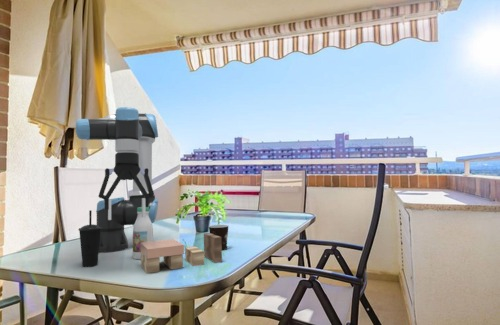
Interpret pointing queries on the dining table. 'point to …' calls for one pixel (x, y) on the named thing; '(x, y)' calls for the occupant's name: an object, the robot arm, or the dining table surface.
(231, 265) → the dining table surface
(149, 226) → the milk bottle
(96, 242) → the drinking cup
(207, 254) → the brown wooden board
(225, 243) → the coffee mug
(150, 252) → the slab
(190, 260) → the batten
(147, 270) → the batten rear
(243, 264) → the dining table surface
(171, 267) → the block
